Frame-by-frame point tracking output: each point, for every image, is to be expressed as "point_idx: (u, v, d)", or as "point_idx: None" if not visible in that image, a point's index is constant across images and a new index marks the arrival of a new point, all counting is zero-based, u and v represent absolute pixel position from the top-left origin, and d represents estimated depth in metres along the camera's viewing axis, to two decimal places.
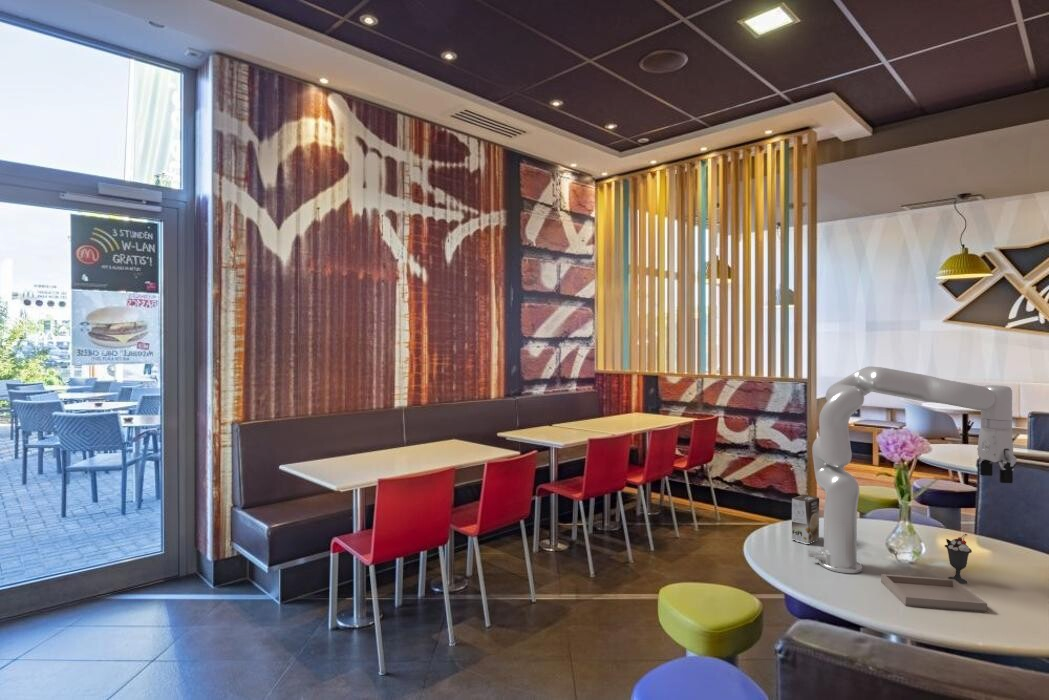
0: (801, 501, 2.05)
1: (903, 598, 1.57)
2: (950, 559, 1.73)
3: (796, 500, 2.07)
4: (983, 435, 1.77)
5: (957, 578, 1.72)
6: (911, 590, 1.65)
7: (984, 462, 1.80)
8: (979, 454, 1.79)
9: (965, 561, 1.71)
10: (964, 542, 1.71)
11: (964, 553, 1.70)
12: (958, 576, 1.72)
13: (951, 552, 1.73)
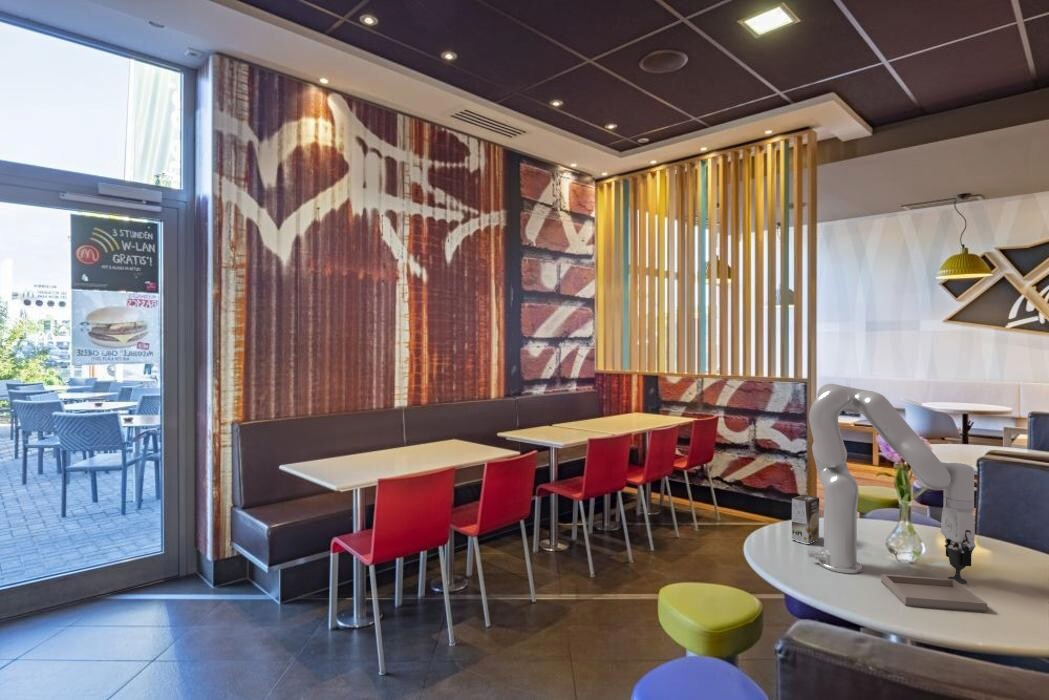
0: (801, 501, 2.05)
1: (903, 598, 1.57)
2: (950, 559, 1.73)
3: (796, 500, 2.07)
4: (946, 513, 1.75)
5: (957, 578, 1.72)
6: (911, 590, 1.65)
7: None
8: (942, 532, 1.77)
9: None
10: None
11: None
12: (958, 576, 1.72)
13: (950, 552, 1.73)
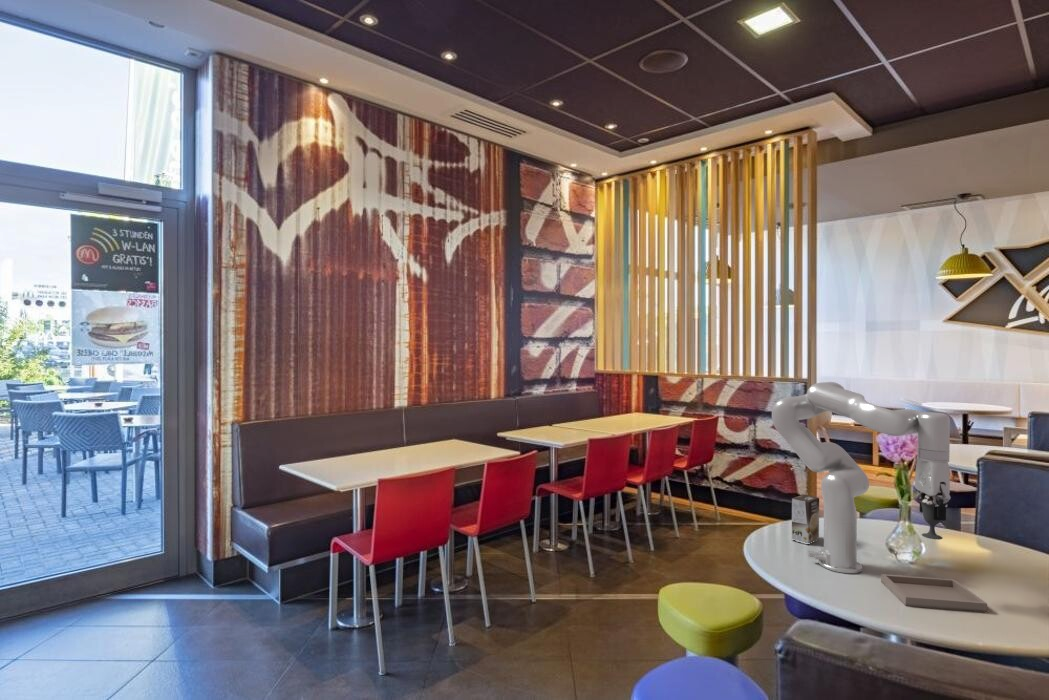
0: (801, 501, 2.05)
1: (903, 598, 1.57)
2: (924, 514, 1.63)
3: (796, 500, 2.07)
4: (920, 466, 1.64)
5: (931, 534, 1.62)
6: (911, 590, 1.65)
7: None
8: (916, 486, 1.66)
9: None
10: None
11: None
12: (932, 532, 1.62)
13: (925, 506, 1.62)
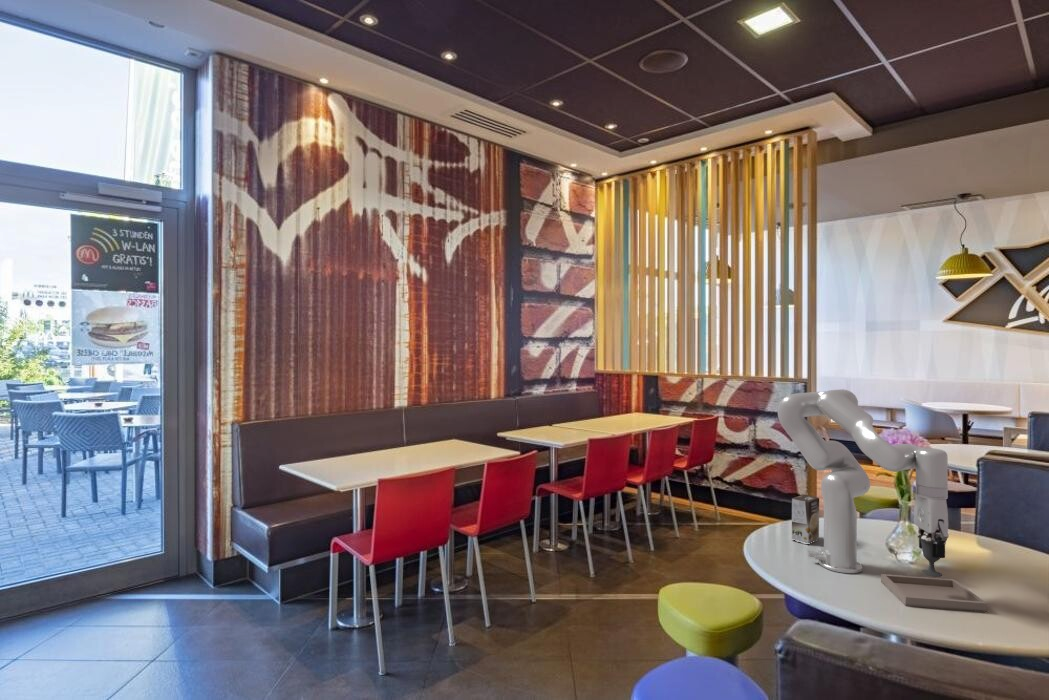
0: (801, 501, 2.05)
1: (903, 598, 1.57)
2: (923, 550, 1.62)
3: (796, 500, 2.07)
4: (918, 502, 1.64)
5: (931, 571, 1.61)
6: (911, 590, 1.65)
7: None
8: (915, 522, 1.66)
9: None
10: None
11: None
12: (932, 569, 1.61)
13: (924, 543, 1.61)
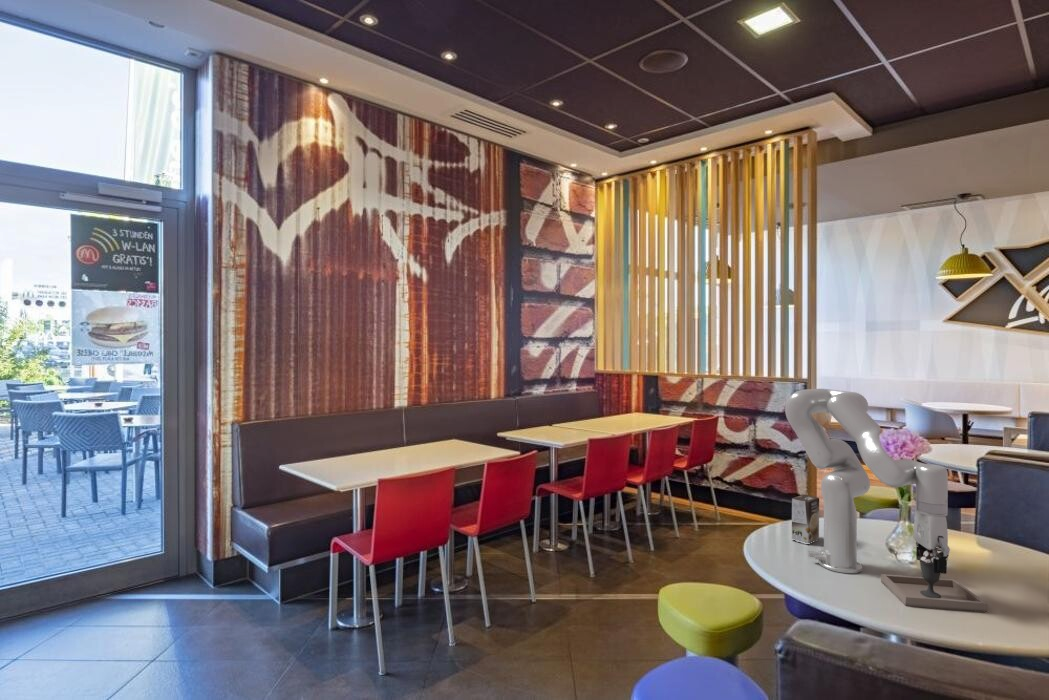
0: (801, 501, 2.05)
1: (903, 598, 1.57)
2: (922, 572, 1.62)
3: (796, 500, 2.07)
4: (918, 518, 1.64)
5: (930, 592, 1.61)
6: (911, 590, 1.65)
7: (920, 546, 1.67)
8: (914, 537, 1.66)
9: (938, 574, 1.60)
10: None
11: None
12: (931, 590, 1.61)
13: (923, 564, 1.61)
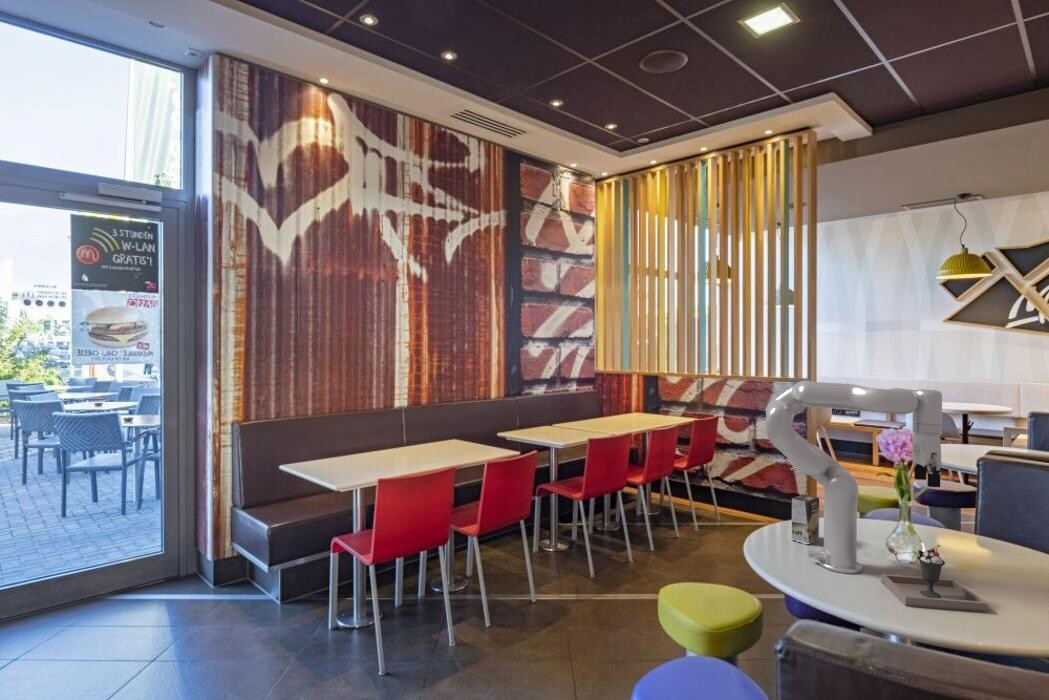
0: (801, 501, 2.05)
1: (903, 598, 1.57)
2: (922, 572, 1.62)
3: (796, 500, 2.07)
4: (915, 439, 1.77)
5: (930, 592, 1.61)
6: (911, 590, 1.65)
7: (918, 466, 1.80)
8: (912, 458, 1.79)
9: (938, 574, 1.60)
10: (937, 554, 1.60)
11: (937, 565, 1.59)
12: (931, 590, 1.61)
13: (923, 564, 1.61)
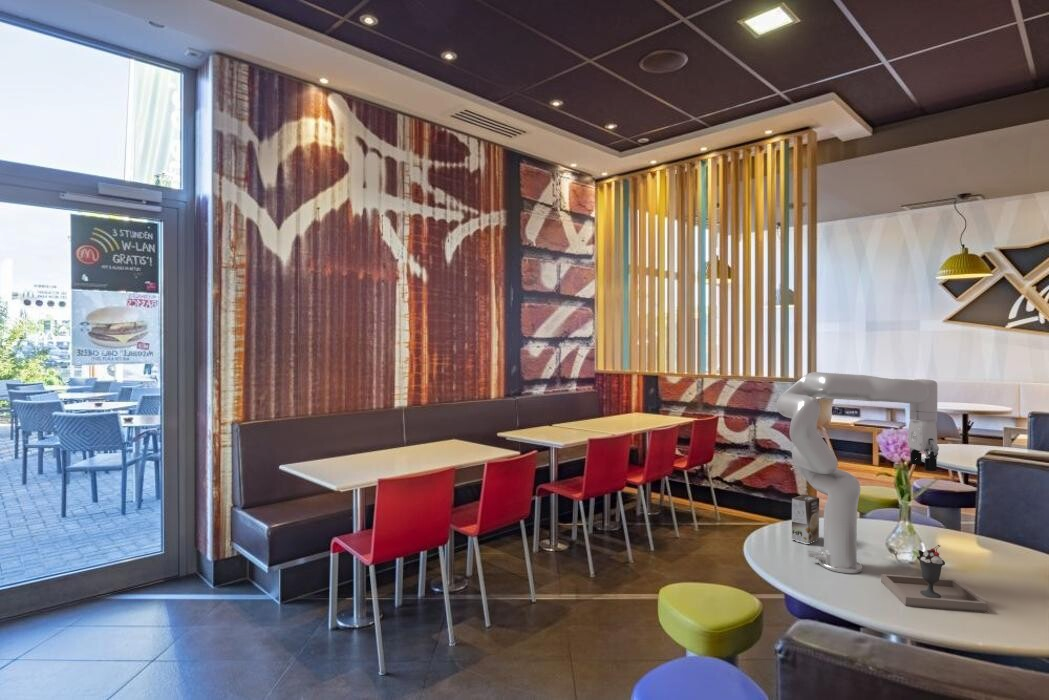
0: (801, 501, 2.05)
1: (903, 598, 1.57)
2: (922, 572, 1.62)
3: (796, 500, 2.07)
4: (912, 426, 1.88)
5: (930, 592, 1.61)
6: (911, 590, 1.65)
7: (914, 452, 1.91)
8: (909, 444, 1.90)
9: (938, 574, 1.60)
10: (937, 554, 1.60)
11: (937, 566, 1.59)
12: (931, 590, 1.61)
13: (923, 564, 1.61)
